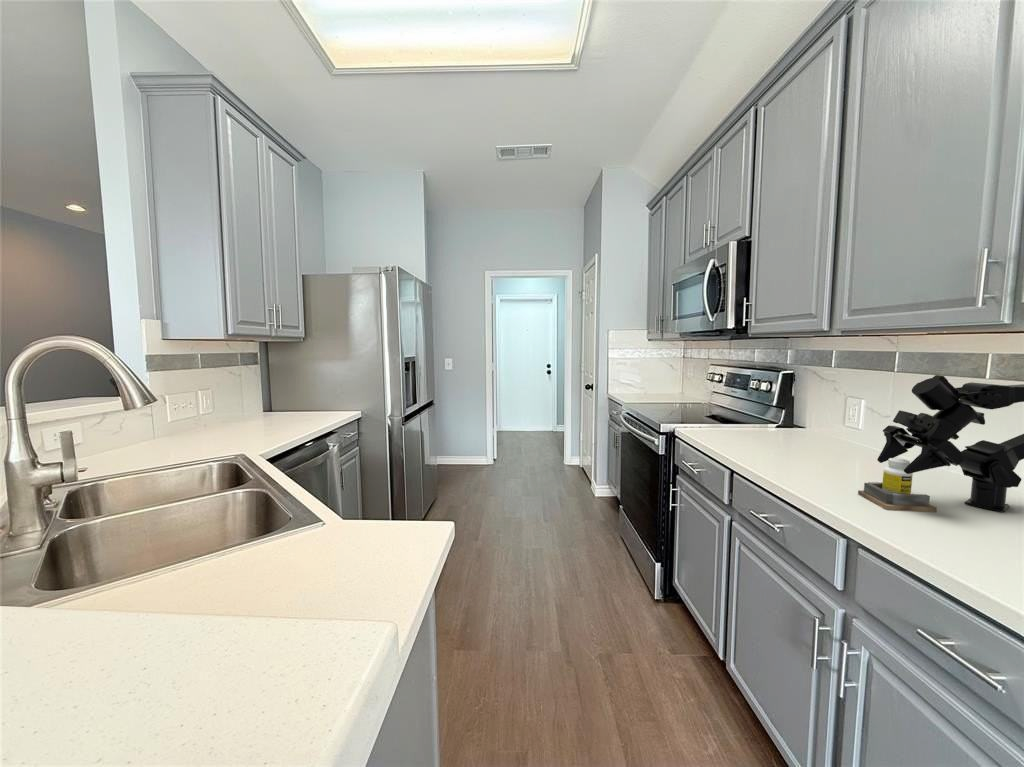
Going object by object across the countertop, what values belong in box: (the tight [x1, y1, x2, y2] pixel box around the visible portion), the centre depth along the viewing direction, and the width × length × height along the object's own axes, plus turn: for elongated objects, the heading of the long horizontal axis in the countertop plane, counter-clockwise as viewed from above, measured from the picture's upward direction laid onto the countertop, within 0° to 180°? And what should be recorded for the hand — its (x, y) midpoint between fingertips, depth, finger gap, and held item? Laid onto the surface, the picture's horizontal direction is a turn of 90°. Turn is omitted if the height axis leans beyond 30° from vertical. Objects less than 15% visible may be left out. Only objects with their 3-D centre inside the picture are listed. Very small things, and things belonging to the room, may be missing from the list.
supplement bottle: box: [882, 457, 914, 494], centre depth 108 cm, size 5×5×10 cm
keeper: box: [857, 481, 938, 513], centre depth 108 cm, size 11×11×4 cm
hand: (891, 466), depth 108 cm, fingers open, 9 cm apart
